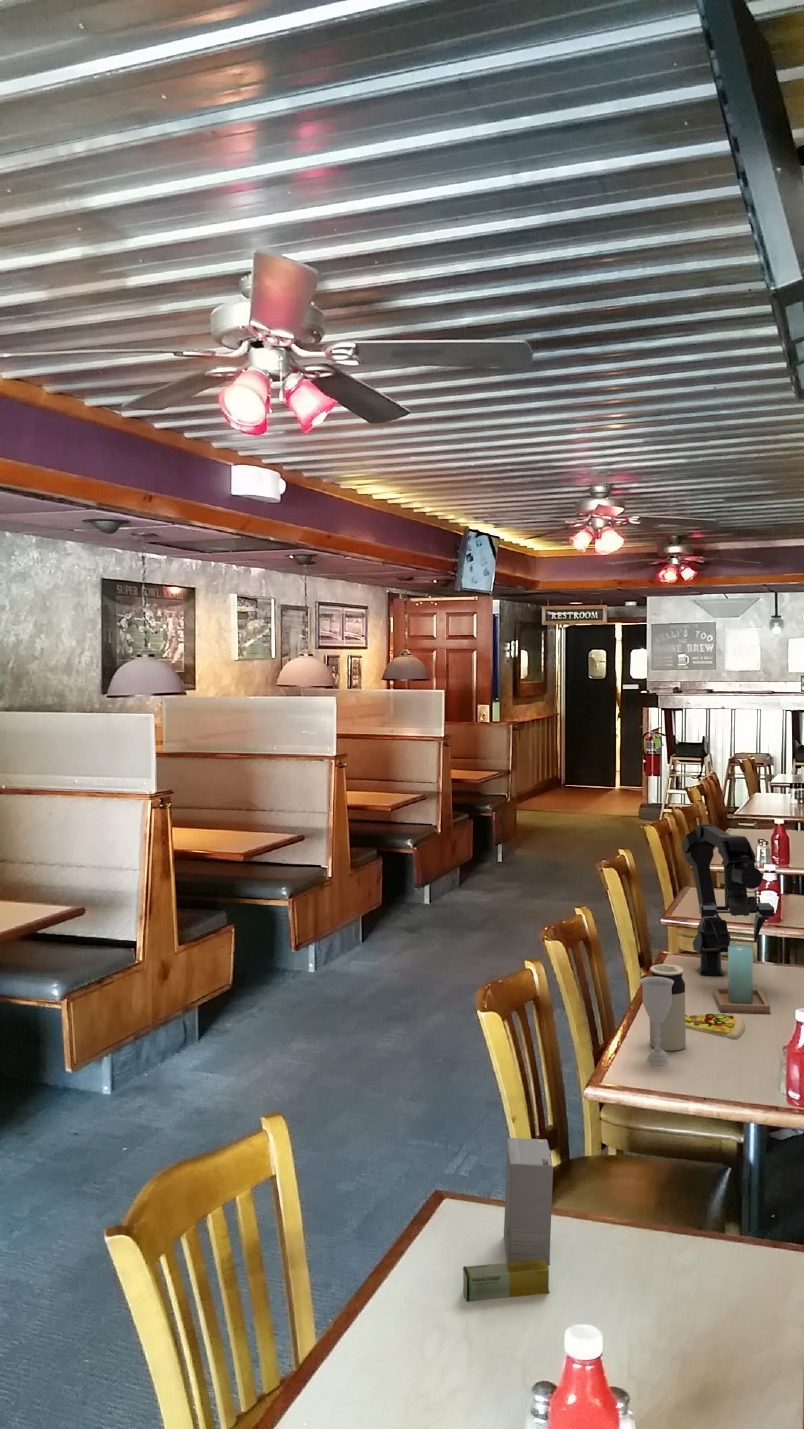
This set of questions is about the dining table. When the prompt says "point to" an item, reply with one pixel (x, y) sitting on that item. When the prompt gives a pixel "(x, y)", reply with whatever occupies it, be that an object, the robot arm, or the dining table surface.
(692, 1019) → the pizza slice
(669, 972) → the travel mug
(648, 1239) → the dining table surface
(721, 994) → the tray
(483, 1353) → the dining table surface
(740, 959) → the teal rounded cylinder
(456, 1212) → the dining table surface
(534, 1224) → the skincare box
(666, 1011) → the chalice
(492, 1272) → the medication box
